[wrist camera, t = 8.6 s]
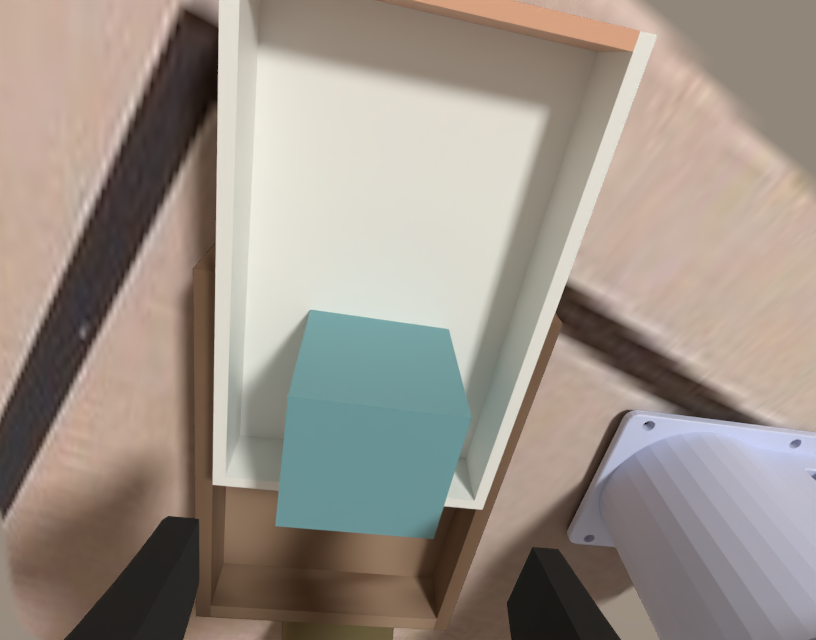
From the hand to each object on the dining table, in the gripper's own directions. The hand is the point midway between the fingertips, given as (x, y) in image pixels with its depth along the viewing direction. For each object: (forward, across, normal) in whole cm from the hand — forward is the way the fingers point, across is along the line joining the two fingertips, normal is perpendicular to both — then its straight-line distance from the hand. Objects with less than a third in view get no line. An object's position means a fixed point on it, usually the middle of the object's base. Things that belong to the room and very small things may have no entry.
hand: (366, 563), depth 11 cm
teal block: (+7, 0, 0) cm, 7 cm away
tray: (+8, 0, -4) cm, 9 cm away
